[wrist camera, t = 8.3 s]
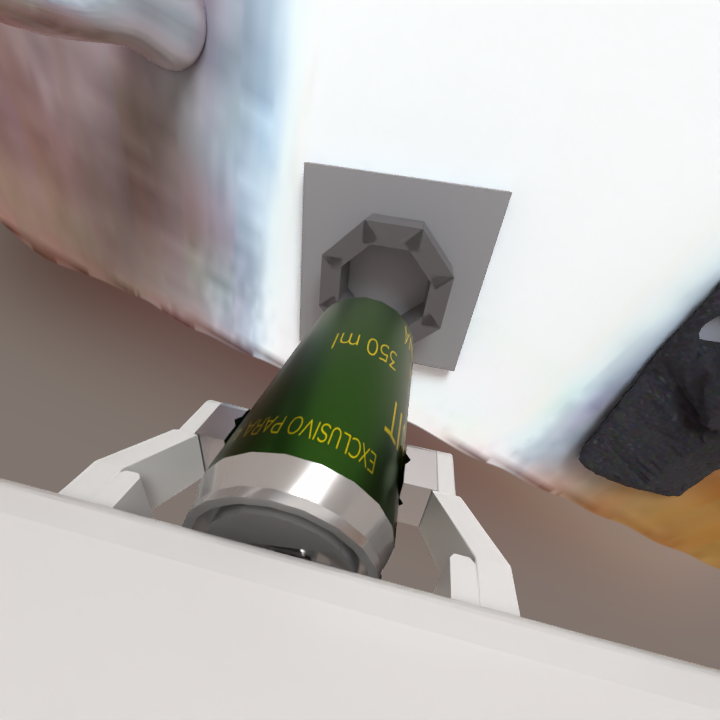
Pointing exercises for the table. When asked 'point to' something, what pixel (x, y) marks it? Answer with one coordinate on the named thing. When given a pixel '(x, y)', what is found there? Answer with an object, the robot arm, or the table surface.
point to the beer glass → (119, 25)
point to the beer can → (321, 447)
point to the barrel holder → (399, 251)
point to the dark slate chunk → (666, 417)
